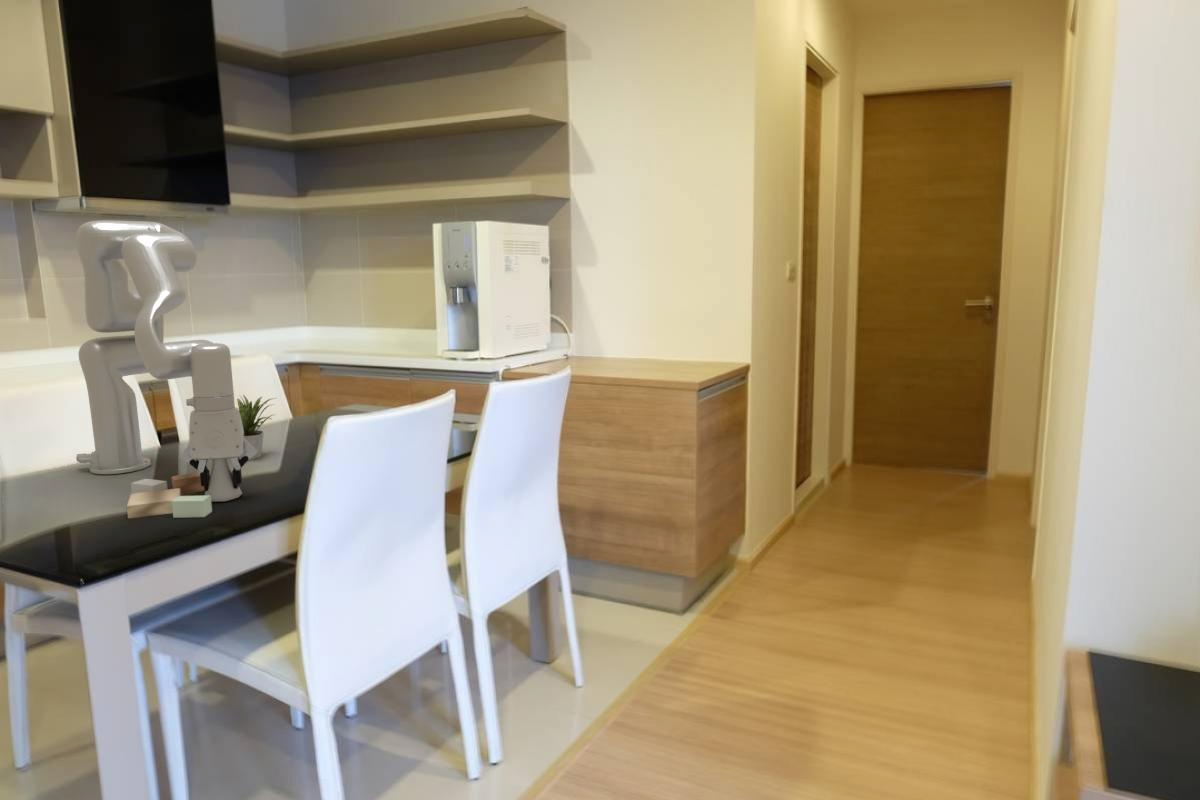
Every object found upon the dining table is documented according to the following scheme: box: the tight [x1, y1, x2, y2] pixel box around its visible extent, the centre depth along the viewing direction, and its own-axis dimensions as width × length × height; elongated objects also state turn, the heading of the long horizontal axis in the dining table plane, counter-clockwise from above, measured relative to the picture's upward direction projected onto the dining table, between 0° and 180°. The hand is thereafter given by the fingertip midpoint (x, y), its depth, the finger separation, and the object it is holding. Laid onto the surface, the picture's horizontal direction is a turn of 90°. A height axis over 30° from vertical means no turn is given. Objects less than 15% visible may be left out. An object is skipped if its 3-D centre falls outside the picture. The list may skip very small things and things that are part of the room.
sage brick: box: [172, 495, 213, 519], centre depth 159 cm, size 6×4×4 cm, turn 94°
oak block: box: [126, 488, 182, 519], centre depth 162 cm, size 9×9×3 cm
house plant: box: [236, 394, 278, 461], centre depth 202 cm, size 14×14×16 cm
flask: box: [203, 458, 243, 503], centre depth 169 cm, size 7×7×10 cm
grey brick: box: [130, 478, 168, 494], centre depth 170 cm, size 6×4×4 cm, turn 71°
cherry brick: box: [171, 471, 205, 495], centre depth 175 cm, size 6×4×4 cm, turn 126°
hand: (222, 487), depth 169 cm, fingers closed on flask, 5 cm apart
